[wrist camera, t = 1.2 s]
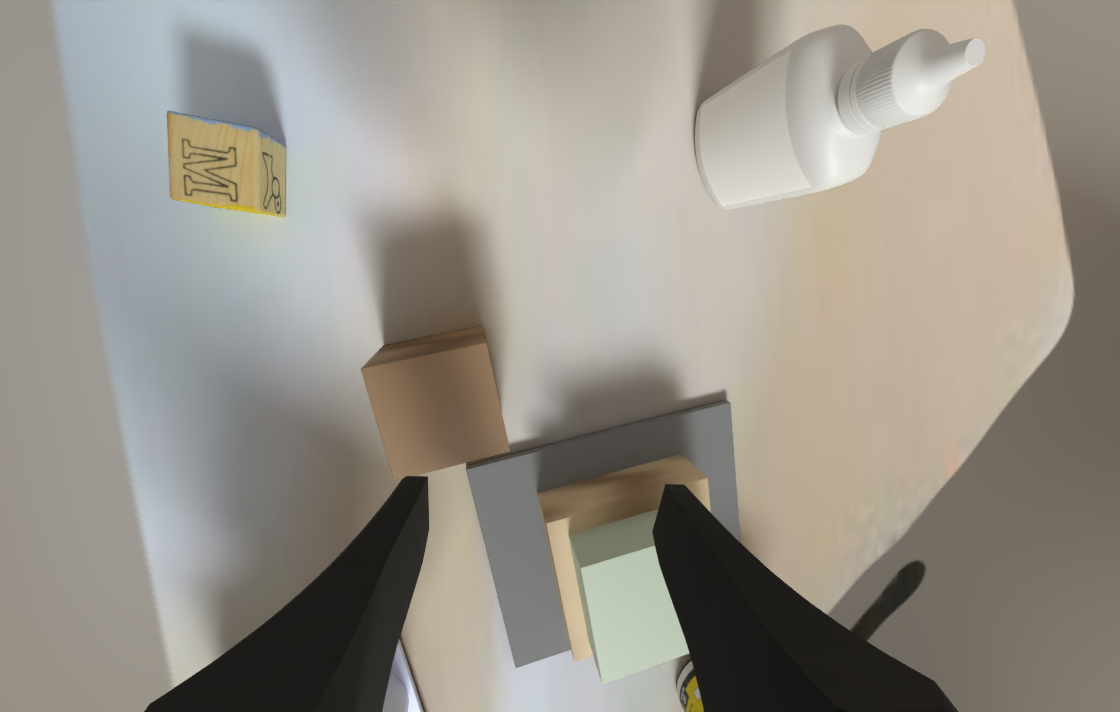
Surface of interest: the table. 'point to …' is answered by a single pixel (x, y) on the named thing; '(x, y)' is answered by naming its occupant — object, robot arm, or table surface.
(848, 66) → the eye dropper bottle
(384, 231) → the table surface
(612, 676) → the tower top
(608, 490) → the tower base
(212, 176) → the alphabet block
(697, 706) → the supplement bottle
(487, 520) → the mat
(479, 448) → the walnut cube
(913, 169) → the table surface
